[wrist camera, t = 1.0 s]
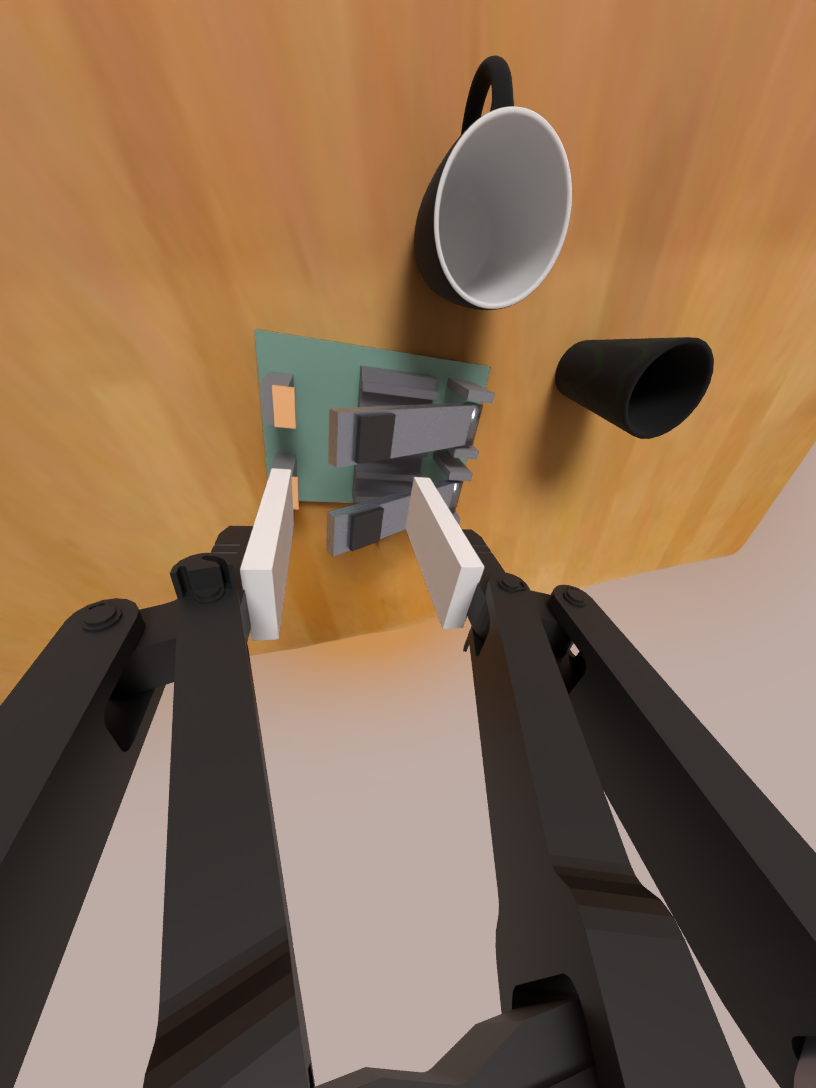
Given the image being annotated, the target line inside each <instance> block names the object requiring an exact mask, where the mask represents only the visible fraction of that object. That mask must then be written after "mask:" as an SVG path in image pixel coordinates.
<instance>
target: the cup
mask: <svg viewBox="0 0 816 1088" xmlns="http://www.w3.org/2000/svg"><path fill="white" fill-rule="evenodd" d="M713 364H714V358H713V354H712V350H711V348H710V347H709V346H708V344H707V343H706V342H705V341H703V340H701V339H699V338H691V337H682V338H648V339H613V340H585V341H581V342H578V343H576V344H574V345H573V346H572V347H571V348H569V349H568V350H567V351H566V353H565V354H564V355H563V356H562V358H561V360H560V362H559V364H558V367H557V370H556V375H555V378H556V385H557V388H558V390H559V391H560V392H561V393H562V394H563V395H565V396H566V397H568V398H570V399H572V400H573V401H575V402H577V403H578V404H580V405H582V406H583V407H585V408H587V409H588V410H590V411H592V412H594V413H595V414H597V415H599V416H600V417H602V418H604V419H605V420H607V421H609V422H611V423H612V424H614V425H616V426H617V427H619V428H621V429H622V430H624V431H626V432H627V433H629V434H631V435H633V436H635V437H638V438H640V439H650V438H654V437H658V436H661V435H663V434H665V433H667V432H669V431H671V430H672V429H674V428H675V427H676V426H678V425H679V424H681V423H682V422H683V421H684V420H685V419H686V418H687V417H688V416H689V415H690V414H691V413H692V412H693V410H694V409H695V408H696V407H697V406H698V404H699V403H700V401H701V399H702V398H703V396H704V395H705V393H706V390H707V388H708V386H709V384H710V381H711V377H712V373H713Z"/></svg>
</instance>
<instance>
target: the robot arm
mask: <svg viewBox="0 0 816 1088" xmlns="http://www.w3.org/2000/svg"><path fill="white" fill-rule="evenodd" d="M293 528H294V517H293V496H292V474H291V470H290V469H274V468H272V469H271V472H270V476H269V479H268V482H267V485H266V488H265V492H264V495H263V498H262V501H261V504H260V507H259V511H258V514H257V517H256V520H255V523H254V526H229V527H228V528H226V529H225V530H224V531H222V532H221V533H220V534H219V535H218V538H217V540H216V542H215V546H213V549H212V551H211V553H200V554H196V555H192V556H189V557H187V558H185V559H183V560H180V561H179V562H178V563H177V564H176V565H174V566H173V568H172V570H171V572H170V576H171V579H172V582H173V585H174V588H175V592H176V595H177V598H178V599H177V600H175V601H172V602H169V603H166V604H162V605H158V606H154V607H149V608H145V609H141V610H139V609H138V607H137V605H136V603H134V602H132V601H130V600H128V599H117V598H115V599H108V600H102V601H99V602H96V603H93V604H90V605H87V606H85V607H84V608H82V609H80V610H78V611H77V612H75V613H74V614H73V615H72V616H70V617H69V618H68V619H67V620H66V621H65V622H64V624H63V625H62V626H61V628H60V629H59V630H58V631H57V633H56V634H55V635H54V637H53V638H52V639H51V641H50V642H49V643H48V645H47V646H46V647H45V648H44V650H43V651H42V652H41V654H40V655H39V656H38V658H37V659H36V660H35V661H34V663H33V664H32V665H31V667H30V668H29V669H28V671H27V672H26V673H25V674H24V676H23V677H22V678H21V680H20V681H19V682H18V684H17V685H16V686H15V687H14V689H13V690H12V691H11V693H10V694H9V695H8V697H7V698H6V699H5V700H4V702H3V703H2V704H1V706H0V1088H13V1087H14V1084H15V1082H16V1079H17V1077H18V1074H19V1071H20V1068H21V1066H22V1063H23V1060H24V1058H25V1055H26V1053H27V1050H28V1047H29V1045H30V1042H31V1040H32V1036H33V1034H34V1031H35V1029H36V1026H37V1024H38V1021H39V1018H40V1016H41V1013H42V1010H43V1008H44V1005H45V1002H46V1000H47V997H48V995H49V992H50V989H51V987H52V984H53V981H54V979H55V976H56V973H57V970H58V968H59V965H60V963H61V960H62V957H63V955H64V952H65V950H66V947H67V944H68V942H69V939H70V936H71V934H72V931H73V928H74V926H75V923H76V921H77V918H78V915H79V913H80V910H81V907H82V905H83V902H84V899H85V897H86V894H87V891H88V889H89V886H90V883H91V881H92V878H93V876H94V873H95V870H96V868H97V865H98V862H99V860H100V857H101V854H102V852H103V849H104V847H105V844H106V841H107V839H108V836H109V833H110V831H111V828H112V825H113V823H114V820H115V817H116V815H117V812H118V810H119V807H120V804H121V802H122V799H123V796H124V793H125V791H126V788H127V786H128V783H129V780H130V778H131V775H132V772H133V770H134V767H135V765H136V762H137V759H138V757H139V754H140V751H141V749H142V746H143V743H144V741H145V738H146V736H147V732H148V730H149V728H150V725H151V722H152V720H153V717H154V714H155V712H156V709H157V706H158V704H159V701H160V699H161V696H162V693H163V690H164V688H165V685H166V684H169V683H172V682H174V700H173V722H172V742H171V743H172V744H171V763H170V786H169V807H168V829H167V850H166V873H165V894H164V916H163V937H162V960H161V982H160V1003H159V1017H158V1026H157V1032H156V1038H155V1043H154V1047H153V1050H152V1053H151V1056H150V1060H149V1063H148V1067H147V1070H146V1073H145V1078H144V1084H143V1088H745V1085H744V1083H743V1080H742V1078H741V1075H740V1073H739V1070H738V1068H737V1065H736V1063H735V1061H734V1058H733V1056H732V1053H731V1051H730V1048H729V1046H728V1044H727V1041H726V1039H725V1036H724V1034H723V1031H722V1029H721V1027H720V1024H719V1022H718V1019H717V1017H716V1014H715V1012H714V1010H713V1007H712V1005H711V1002H710V1000H709V997H708V995H707V992H706V990H705V987H704V985H703V983H702V980H701V978H700V975H699V973H698V970H697V968H696V965H695V963H694V961H693V958H692V956H691V953H690V951H689V949H688V946H687V944H686V941H685V939H684V937H683V935H684V936H685V938H686V940H687V942H688V944H689V945H690V947H691V949H692V951H693V953H694V954H695V956H696V958H697V960H698V962H699V963H700V965H701V967H702V968H703V970H704V971H705V973H706V975H707V977H708V979H709V980H710V982H711V984H712V985H713V987H714V988H715V990H716V992H717V994H718V996H719V997H720V999H721V1001H722V1002H723V1004H724V1006H725V1007H726V1009H727V1010H728V1012H729V1013H730V1015H731V1016H732V1018H733V1019H734V1021H735V1022H736V1024H737V1025H738V1027H739V1028H740V1030H741V1031H742V1033H743V1035H744V1036H745V1038H746V1039H747V1041H748V1042H749V1044H750V1045H751V1047H752V1048H753V1050H754V1051H755V1053H756V1054H757V1056H758V1057H759V1059H760V1060H761V1061H762V1063H763V1064H764V1065H765V1067H766V1068H767V1070H768V1071H769V1072H770V1074H771V1075H772V1076H773V1078H774V1079H775V1080H776V1082H777V1083H778V1085H779V1086H780V1087H781V1088H816V853H815V852H814V850H813V849H812V848H811V847H810V846H809V845H808V844H807V842H806V841H805V840H804V839H803V838H802V837H801V836H800V834H799V833H798V832H797V831H796V830H795V829H794V828H793V827H792V825H791V824H790V823H789V822H788V821H787V820H786V819H785V818H784V816H783V815H782V814H781V813H780V812H779V811H778V809H777V808H776V807H775V806H774V805H773V804H772V803H771V801H770V800H769V799H768V798H767V797H766V796H765V795H764V794H763V792H762V791H761V790H760V789H759V788H758V787H757V786H756V784H755V783H754V782H753V781H752V780H751V779H750V778H749V776H748V775H747V774H746V773H745V772H744V771H743V770H742V768H741V767H740V766H739V765H738V764H737V763H736V762H735V761H734V759H733V758H732V757H731V756H730V755H729V754H728V753H727V751H726V750H725V749H724V748H723V747H722V746H721V745H720V743H719V742H718V741H717V740H716V739H715V738H714V737H713V736H712V734H711V733H710V732H709V731H708V730H707V729H706V727H705V726H704V725H703V724H702V723H701V722H700V721H699V720H698V719H697V718H696V716H695V715H694V714H693V713H692V712H691V710H690V709H689V708H688V707H687V706H686V705H685V704H684V703H683V701H682V700H681V699H680V698H679V697H678V696H677V694H676V693H675V692H674V691H673V690H672V689H671V688H670V687H669V685H668V684H667V683H666V682H665V681H664V680H663V679H662V677H661V676H660V675H659V674H658V673H657V672H656V671H655V669H654V668H653V667H652V666H651V665H650V664H649V663H648V661H647V660H646V659H645V658H644V657H643V656H642V655H641V654H640V653H639V651H638V650H637V649H636V648H635V647H634V646H633V644H632V643H631V642H630V641H629V640H628V639H627V638H626V636H625V635H624V634H623V633H622V632H621V631H620V630H619V629H618V627H617V626H616V625H615V624H614V623H613V622H612V621H611V619H610V618H609V617H608V616H607V615H606V614H605V613H604V611H603V610H602V609H601V608H600V607H599V606H598V605H597V604H596V602H595V601H594V600H593V599H592V598H591V597H590V596H589V595H588V594H587V593H585V592H584V591H582V590H580V589H579V588H576V587H573V586H569V585H559V586H556V587H555V588H554V590H553V592H552V593H551V595H549V594H544V593H539V592H535V591H531V590H530V589H529V587H528V585H527V584H526V583H525V582H524V581H523V580H522V579H521V578H519V577H517V576H515V575H513V574H509V573H505V571H504V570H503V568H502V567H501V565H500V564H499V562H498V561H497V559H496V558H495V557H494V555H493V554H492V553H491V551H490V549H489V548H488V546H486V543H485V542H484V540H483V539H482V537H481V536H479V535H478V534H477V533H475V532H474V531H473V530H465V529H461V528H460V526H459V525H458V523H457V521H456V520H455V518H454V517H453V515H452V513H451V512H450V510H449V508H448V507H447V505H446V504H445V502H444V500H443V499H442V497H441V495H440V494H439V492H438V491H437V489H436V487H435V486H434V484H433V482H432V481H431V479H430V478H422V477H414V480H413V486H412V491H411V497H410V503H409V509H408V515H407V520H406V526H405V528H406V531H407V534H408V536H409V539H410V542H411V545H412V547H413V550H414V553H415V555H416V558H417V561H418V564H419V566H420V569H421V572H422V574H423V577H424V580H425V583H426V585H427V588H428V591H429V593H430V596H431V599H432V602H433V604H434V607H435V610H436V613H437V615H438V618H439V621H440V623H441V626H442V629H453V628H463V626H464V623H465V621H466V618H467V616H468V619H469V621H470V623H471V625H472V626H471V629H470V631H469V634H468V637H467V640H466V642H465V645H464V649H463V651H465V652H466V651H467V649H468V646H469V645H470V653H471V661H472V670H473V679H474V687H475V696H476V704H477V714H478V722H479V730H480V739H481V748H482V757H483V766H484V774H485V783H486V792H487V800H488V809H489V818H490V826H491V834H492V844H493V852H494V861H495V869H496V879H497V887H498V897H499V916H498V922H497V928H496V960H497V971H498V982H499V991H500V1002H501V1011H502V1014H501V1015H498V1016H496V1017H493V1018H490V1019H488V1020H485V1021H483V1022H481V1023H478V1024H475V1026H473V1027H472V1028H471V1030H469V1032H467V1034H465V1035H464V1037H462V1038H461V1039H460V1041H458V1042H457V1043H456V1044H455V1045H454V1047H452V1048H451V1050H449V1051H448V1052H447V1053H446V1054H445V1056H443V1057H442V1058H441V1059H440V1061H438V1062H437V1063H436V1064H435V1065H434V1067H433V1068H431V1069H430V1070H429V1071H427V1072H422V1073H420V1072H410V1071H400V1070H389V1069H379V1068H369V1067H365V1068H362V1069H360V1070H357V1071H355V1072H352V1073H349V1074H347V1075H344V1076H342V1077H339V1078H337V1079H334V1080H332V1081H329V1082H326V1083H324V1084H321V1085H319V1086H316V1087H315V1083H314V1076H313V1069H312V1063H311V1057H310V1050H309V1043H308V1037H307V1030H306V1023H305V1017H304V1011H303V1004H302V998H301V992H300V986H299V981H298V974H297V967H296V962H295V954H294V948H293V942H292V935H291V928H290V921H289V915H288V909H287V902H286V895H285V888H284V882H283V875H282V868H281V862H280V855H279V850H278V842H277V836H276V829H275V822H274V816H273V809H272V802H271V796H270V789H269V782H268V776H267V769H266V763H265V756H264V749H263V743H262V736H261V729H260V723H259V716H258V710H257V703H256V696H255V690H254V683H253V677H252V670H251V664H250V657H249V650H248V645H247V641H248V637H249V632H250V634H251V640H252V641H257V640H273V639H279V633H280V626H281V618H282V611H283V603H284V596H285V588H286V581H287V573H288V566H289V558H290V551H291V543H292V536H293ZM573 644H575V645H576V647H577V648H578V650H579V651H580V652H579V653H578V655H577V656H575V655H574V654H573V653H572V652H571V650H570V648H571V647H572V645H573ZM603 790H604V791H603ZM604 792H605V794H606V796H607V797H608V799H609V801H610V803H611V805H612V806H613V808H614V810H615V812H616V814H617V815H618V817H619V819H620V821H621V822H622V824H623V826H624V828H625V830H626V832H627V833H628V835H629V837H630V839H631V841H632V842H633V844H634V846H635V848H636V850H637V851H638V853H639V855H640V857H641V859H642V861H643V862H644V864H645V866H646V868H647V869H648V871H649V873H650V875H651V877H652V879H653V880H654V882H655V884H656V886H657V887H658V889H659V891H660V893H661V895H662V897H663V898H664V900H665V902H666V904H667V906H668V908H669V909H670V911H671V913H672V914H671V913H670V912H669V910H668V909H667V907H666V906H665V905H664V903H663V902H662V901H661V900H660V899H659V898H658V897H656V896H655V895H654V894H653V893H651V892H650V891H649V890H647V889H646V888H645V887H644V886H643V885H642V884H641V883H640V882H639V880H638V879H637V877H636V875H635V874H634V871H633V869H632V867H631V865H630V862H629V859H628V856H627V854H626V851H625V848H624V846H623V843H622V840H621V837H620V835H619V832H618V829H617V827H616V824H615V821H614V818H613V815H612V813H611V810H610V807H609V805H608V802H607V799H606V797H605V794H604ZM672 915H673V916H672ZM674 918H675V919H674ZM675 920H676V921H675ZM676 922H677V923H676ZM677 924H678V925H677ZM678 926H679V927H680V929H681V931H682V933H683V935H682V933H681V931H680V929H679V927H678Z"/></svg>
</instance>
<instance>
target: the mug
mask: <svg viewBox="0 0 816 1088" xmlns="http://www.w3.org/2000/svg"><path fill="white" fill-rule="evenodd" d="M490 85H492V104H491V109H490V112H489V113H487V114H485V115H483V116H482V117H481V114H482V110H483V106H484V102H485V99H486V96H487V93H488V90H489V87H490ZM571 203H572V183H571V173H570V168H569V163H568V159H567V155H566V152H565V150H564V147H563V145H562V143H561V140H560V138H559V137H558V135H557V133H556V132H555V130H554V129H553V128H552V126H551V125H550V124H549V123H548V122H547V121H546V120H545V119H544V118H543V117H541V116H540V115H539V114H537V113H535V112H534V111H532V110H529V109H526V108H523V107H516V106H514V101H513V87H512V77H511V72H510V69H509V66H508V64H507V62H506V61H505V60H504V59H503V58H502V57H499V56H490V57H488V58H486V59H485V60H484V61H483V62H482V63H481V65H480V66H479V67H478V69H477V71H476V73H475V76H474V78H473V81H472V84H471V87H470V91H469V95H468V99H467V103H466V108H465V113H464V118H463V124H462V131H461V136H460V137H459V138H458V139H457V141H456V142H455V143H454V144H453V146H452V147H451V148H450V150H449V151H448V153H447V154H446V156H445V157H444V159H443V161H442V162H441V164H440V165H439V167H438V169H437V170H436V172H435V174H434V176H433V178H432V180H431V182H430V184H429V186H428V188H427V190H426V192H425V195H424V197H423V200H422V203H421V206H420V209H419V212H418V216H417V220H416V226H415V238H414V243H415V254H416V259H417V263H418V266H419V269H420V271H421V274H422V276H423V277H424V279H425V281H426V282H427V284H428V285H429V286H430V287H431V288H432V289H433V290H434V291H435V292H436V293H437V294H438V295H440V296H441V297H443V298H445V299H446V300H448V301H450V302H453V303H455V304H458V305H461V306H464V307H468V308H473V309H479V310H496V309H502V308H506V307H509V306H512V305H514V304H516V303H518V302H520V301H521V300H523V299H524V298H526V297H527V296H528V295H530V294H531V293H532V292H533V291H534V290H535V289H536V288H537V287H538V286H539V285H540V284H541V283H542V281H543V280H544V279H545V278H546V276H547V275H548V273H549V272H550V270H551V268H552V267H553V265H554V263H555V261H556V259H557V257H558V255H559V253H560V251H561V248H562V245H563V243H564V240H565V236H566V233H567V229H568V224H569V219H570V213H571Z"/></svg>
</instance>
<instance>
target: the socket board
mask: <svg viewBox="0 0 816 1088" xmlns="http://www.w3.org/2000/svg"><path fill="white" fill-rule="evenodd" d="M254 331H255V343H256V354H257V365H258V376H259V387H260V399H261V410H262V421H263V432H264V443H265V455H266V466H267V477H268V479H269V476H270V472H271V469H272V468H274V469H290V470H291V474H292V496H293V509H299V501H313V502H339V503H353V504H358V503H362V502H366V501H369V500H373V499H377V498H380V497H384V496H388V495H392V494H395V493H399V492H403V491H406V490H410V489H412V486H413V480H414V477H422V478H430V479H431V481H432V482H433V483H436V482H439V481H443V480H447V479H448V480H461V481H471V478H472V472H471V471H470V470H469V469H468V468H467V467H466V466H465V465H466V461H467V459H477V456H478V452H479V451H478V450H477V449H476V448H475V447H474V446H473V445H471V446H467V445H463V446H457V447H452V448H446V449H441V450H435V451H429V452H424V453H418V454H413V455H407V456H401V457H396V458H390V459H385V460H379V461H373V462H368V463H362V464H356V465H351V466H345V467H340V468H336V467H334V466H332V465H331V464H329V463H328V449H329V408H351V407H374V406H397V405H420V404H443V403H466V402H467V401H469V402H476V403H480V404H481V403H482V402H486V403H492V402H493V398H494V393H493V392H491V391H489V390H487V389H485V388H486V384H487V380H488V376H489V372H490V368H491V367H489V366H486V365H480V364H474V363H467V362H461V361H455V360H448V359H442V358H436V357H429V356H423V355H417V354H410V353H404V352H398V351H391V350H385V349H379V348H372V347H366V346H360V345H353V344H347V343H341V342H334V341H328V340H322V339H315V338H309V337H303V336H296V335H290V334H284V333H277V332H271V331H265V330H259V329H256V330H254ZM452 515H453V517H454V518H455V520H456V521H457V523H458V525H459V521H460V517H459V516H458V514H457V513H456V511H455V513H454V514H452Z"/></svg>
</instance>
